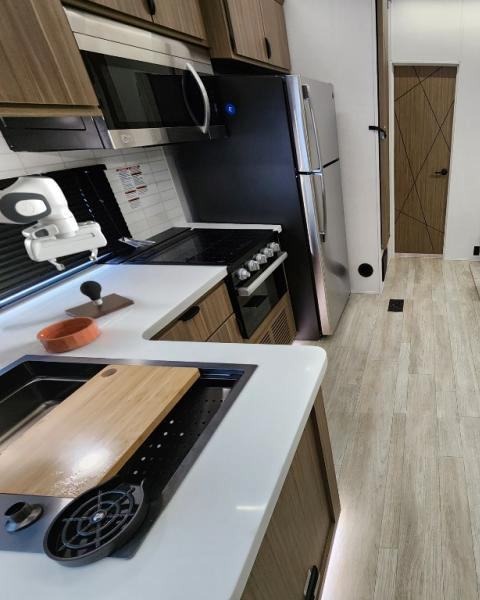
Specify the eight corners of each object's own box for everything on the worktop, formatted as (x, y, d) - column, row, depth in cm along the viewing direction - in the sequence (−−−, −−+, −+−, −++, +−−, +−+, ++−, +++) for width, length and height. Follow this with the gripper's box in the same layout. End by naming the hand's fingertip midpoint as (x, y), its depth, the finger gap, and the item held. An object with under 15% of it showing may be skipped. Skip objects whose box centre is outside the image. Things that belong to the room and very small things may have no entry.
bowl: (56, 358, 98) (48, 344, 96) (37, 346, 104) (28, 333, 102) (109, 335, 109) (102, 322, 107) (88, 325, 115) (82, 313, 112)
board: (84, 323, 116) (82, 319, 115) (66, 314, 122) (64, 310, 121) (134, 303, 128) (132, 300, 128) (115, 296, 134) (113, 293, 134)
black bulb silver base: (105, 300, 128) (93, 276, 123) (112, 304, 125) (100, 280, 121) (86, 306, 123) (73, 282, 119) (93, 310, 121) (80, 286, 116)
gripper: (92, 218, 120) (108, 254, 126) (14, 232, 104) (37, 273, 110) (101, 220, 117) (116, 257, 123) (22, 235, 101) (45, 276, 107)
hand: (78, 265), depth 117 cm, fingers open, 8 cm apart
